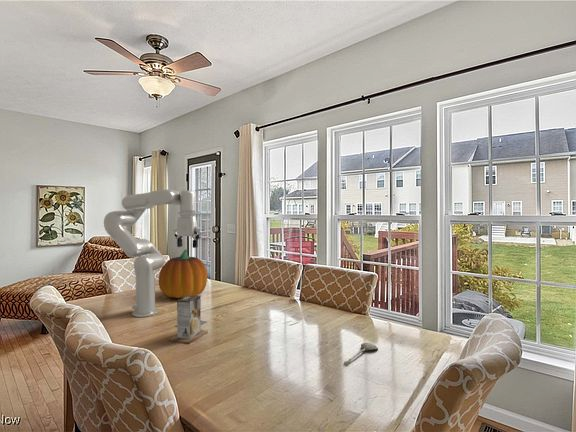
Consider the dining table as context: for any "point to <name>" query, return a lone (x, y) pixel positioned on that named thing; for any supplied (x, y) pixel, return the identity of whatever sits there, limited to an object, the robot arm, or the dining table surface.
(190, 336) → the coffee box
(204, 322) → the color patch mat
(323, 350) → the dining table surface
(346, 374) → the dining table surface
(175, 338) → the walnut pad
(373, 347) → the soupspoon
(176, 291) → the decorative pumpkin
